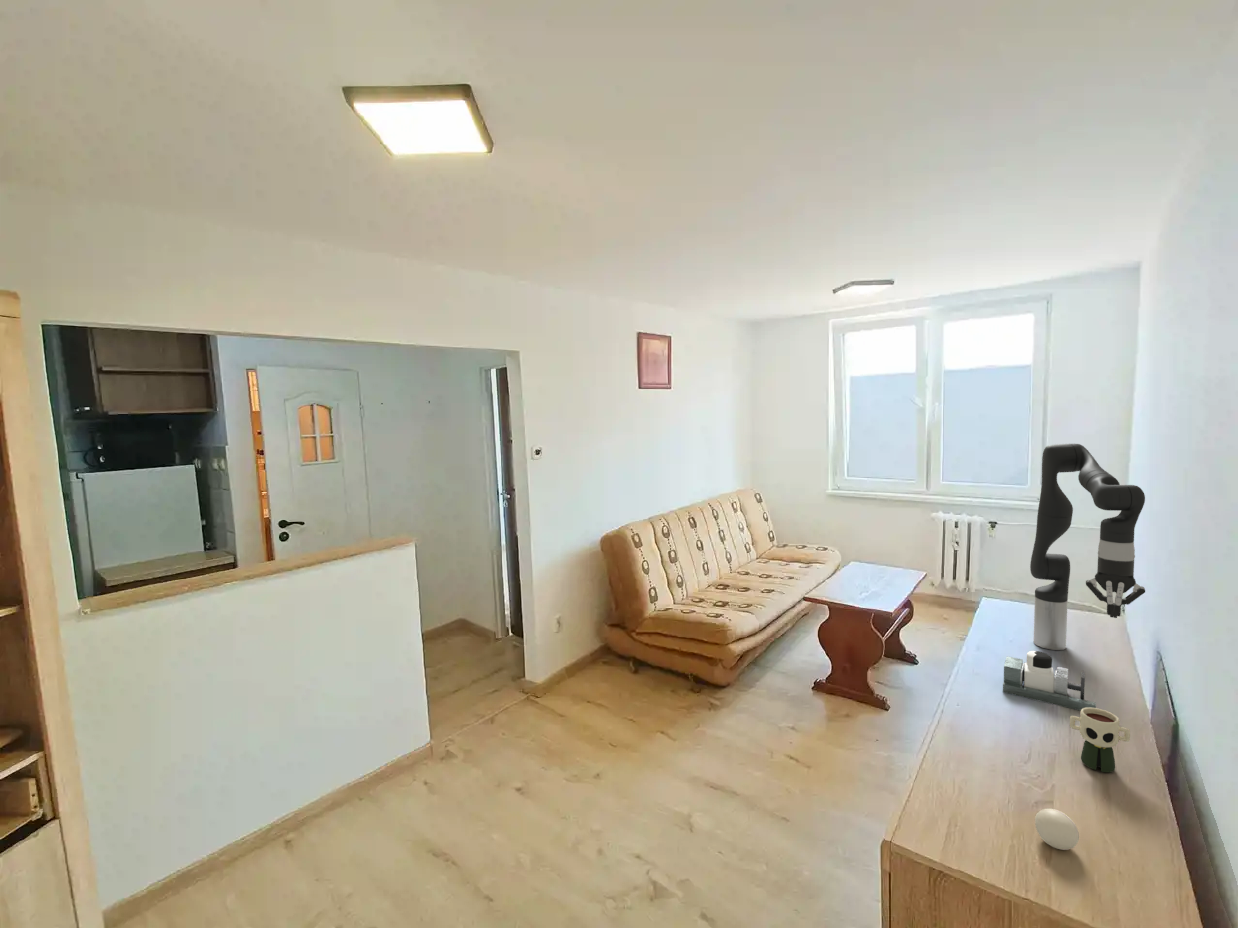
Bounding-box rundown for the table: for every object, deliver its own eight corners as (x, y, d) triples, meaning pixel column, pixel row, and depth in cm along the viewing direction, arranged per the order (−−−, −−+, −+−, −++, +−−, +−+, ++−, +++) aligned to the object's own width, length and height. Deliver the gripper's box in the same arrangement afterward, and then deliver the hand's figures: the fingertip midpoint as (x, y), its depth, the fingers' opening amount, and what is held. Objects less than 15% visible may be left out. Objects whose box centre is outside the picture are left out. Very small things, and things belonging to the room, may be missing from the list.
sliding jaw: (1054, 689, 169) (1055, 663, 168) (1083, 695, 165) (1084, 669, 164) (1053, 699, 163) (1054, 673, 162) (1083, 706, 159) (1084, 679, 158)
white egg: (1062, 830, 115) (1063, 800, 114) (1085, 859, 108) (1087, 827, 107) (1026, 828, 116) (1027, 798, 115) (1047, 856, 109) (1048, 824, 108)
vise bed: (1006, 678, 177) (1006, 656, 176) (1095, 698, 163) (1096, 674, 162) (1002, 691, 169) (1003, 668, 168) (1095, 714, 155) (1096, 688, 155)
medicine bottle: (1052, 689, 169) (1053, 651, 168) (1053, 699, 164) (1055, 660, 162) (1023, 683, 174) (1024, 646, 172) (1023, 693, 168) (1025, 655, 167)
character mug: (1068, 765, 135) (1070, 714, 133) (1068, 750, 140) (1070, 701, 139) (1129, 782, 128) (1132, 729, 127) (1126, 766, 134) (1128, 714, 132)
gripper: (1147, 556, 153) (1144, 617, 154) (1084, 550, 161) (1082, 608, 163) (1150, 562, 147) (1147, 626, 149) (1084, 556, 155) (1082, 616, 157)
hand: (1113, 616), depth 156 cm, fingers closed
